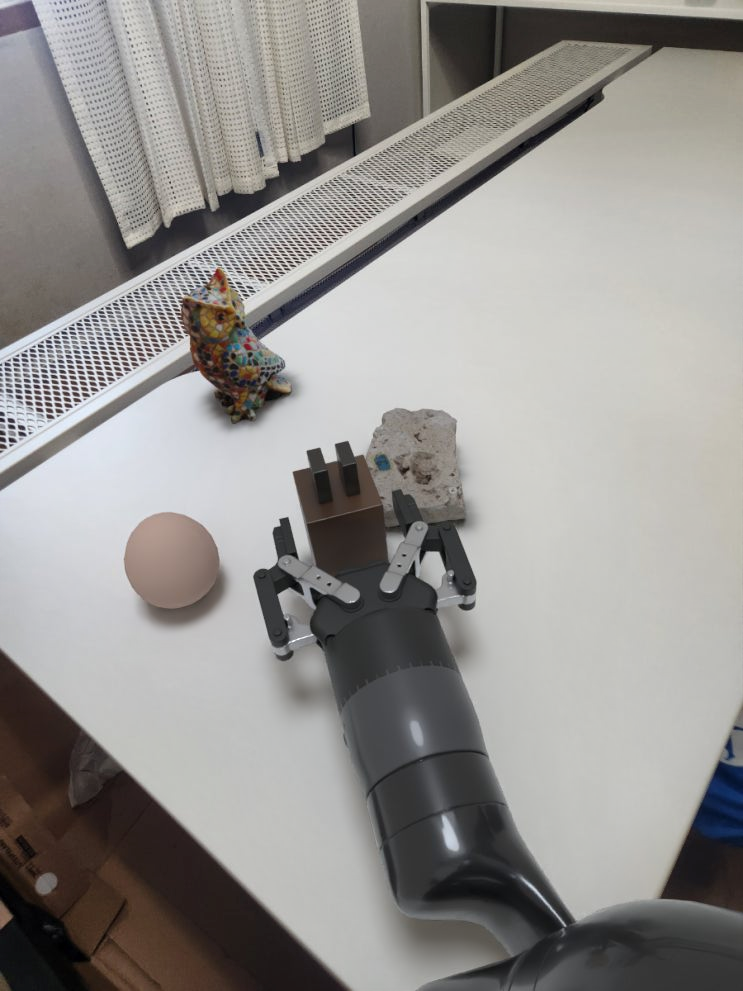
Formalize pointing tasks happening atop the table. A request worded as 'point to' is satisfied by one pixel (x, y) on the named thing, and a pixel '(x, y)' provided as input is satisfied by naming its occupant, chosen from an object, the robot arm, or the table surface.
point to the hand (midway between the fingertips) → (341, 511)
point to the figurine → (230, 350)
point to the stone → (417, 463)
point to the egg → (171, 560)
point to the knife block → (341, 511)
